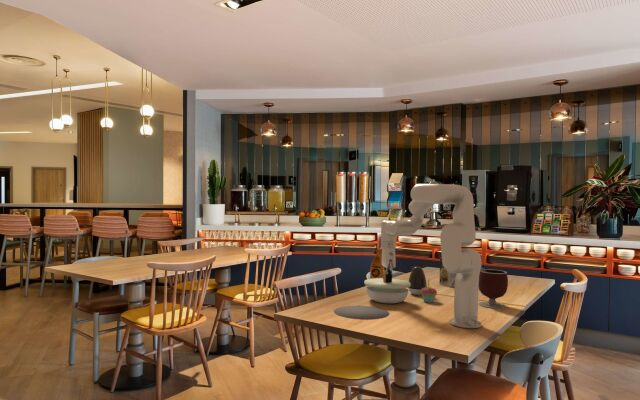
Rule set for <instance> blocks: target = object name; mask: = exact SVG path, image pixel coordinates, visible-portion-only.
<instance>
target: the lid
mask: <svg viewBox="0 0 640 400" xmlns="http://www.w3.org/2000/svg"><path fill="white" fill-rule="evenodd" d="M408 281H409V280H404V279H399V278H392V282H386V270H384V272H383V278H374V279H370V278H368V279H364V282H363V283H364V285H365V286H366V287H368V286H370V287H375V288H384V289H402V288H406V289H408V287H410V285H411V283H410V282H408Z"/></svg>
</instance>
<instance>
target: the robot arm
mask: <svg viewBox="0 0 640 400" xmlns="http://www.w3.org/2000/svg"><path fill="white" fill-rule="evenodd" d="M410 198H411V201H410V203H409V204H408V210H409V212H410V213H411V214H412V215H411V216H410V218H409V219H407V220H392V219H386V220H382V221H381V224H380V225H381V226H380V228H381V229H380V248H382V266H383V272H384V270H386V282H392V279H393V270H394V269H395V268H396V261H397V260H396V248H397V237H403V236H404V237H407V236H413V235H414V234H415V233H416V232H417V231H418V230H419V229H420V228H421V227H422V225H423V223H424V220H425V219H424V218H425V217H424V216H425V214H427V212H429V210H431V208H432V207H433V206H434V205H435V204H436V205H454V206H453V207H454V208H453V210H452V223H448V224H445V225H444V226H443V228H441V231H440V236H439V237H440V239H439V240H440V251H441V252H440V253H441V258H442V262H443V266H444V268H445V269H446V270H447V271H448V272H449V273H457V275H456V278H455V287H454V294H453V295H454V299H453V318H451V319H450V320H449V323H450V325H452V326H455V327H458V328H461V329H462V328H463V329H477V328H481V327H482V322H481V321H479V320H478V318H479V316H478V314H479V274H480V269H481V267H482V264H483V263H482V256H481V254H480V253H479V252H478V251H477V250H475V249H472V248H462V247H463V246H466V247H467V246H470V245H472V244H474V242H475V241H476V236H477V235H476V234H477V233H476V224H475V223H476V222H475V214H474V197H473V194H472V192H471V191H470V190H469V188H467V187H465V186H463V185H459V184H452V183H451V184H448V183H447V184H445V183H443V184H442V183H416V184H415V185H414V186H413V187H412V189H411V190H410Z"/></svg>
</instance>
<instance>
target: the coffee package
mask: <svg viewBox="0 0 640 400" xmlns="http://www.w3.org/2000/svg"><path fill="white" fill-rule="evenodd" d="M374 252H376V253H375V256H374V258H373V259H372V261H371V263H370V267H369V279H374V278H383V266H382V248H381V247H379V248H375V249H374Z"/></svg>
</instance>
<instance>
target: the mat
mask: <svg viewBox="0 0 640 400" xmlns="http://www.w3.org/2000/svg"><path fill="white" fill-rule="evenodd" d="M333 313H334V314H335V315H336V316H339V317H341V318H346V319H353V320H362V321H363V320H369V321H370V320H379V319H385V318H388V317H389V316H390V312H389V311H388V310H386V309H384V308H382V307H376V306H370V305H343V306H339V307H337V308H335V309H334V310H333Z"/></svg>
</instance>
